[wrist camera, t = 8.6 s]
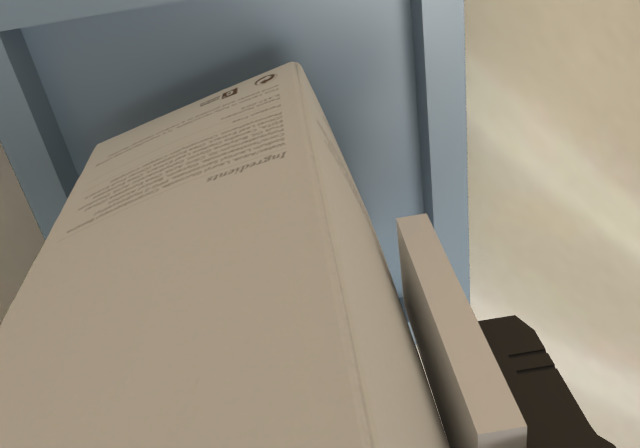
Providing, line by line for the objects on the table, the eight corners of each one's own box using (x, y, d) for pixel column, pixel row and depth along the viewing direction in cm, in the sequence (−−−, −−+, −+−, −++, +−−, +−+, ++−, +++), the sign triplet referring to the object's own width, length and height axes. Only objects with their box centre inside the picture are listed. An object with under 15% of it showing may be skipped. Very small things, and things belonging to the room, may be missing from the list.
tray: (125, 358, 25) (115, 395, 23) (-34, -20, 17) (-67, -7, 16) (455, 302, 25) (470, 335, 23) (441, -100, 18) (461, -97, 16)
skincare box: (94, 137, 17) (-597, 1193, 3) (313, 45, 16) (529, 983, 3) (227, 343, 21) (149, 1183, 8) (407, 279, 20) (676, 1102, 7)
